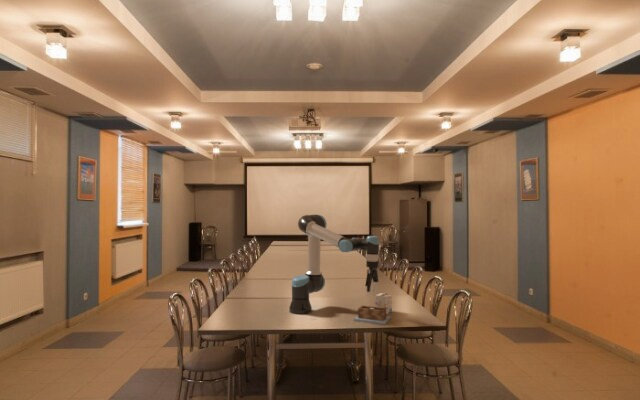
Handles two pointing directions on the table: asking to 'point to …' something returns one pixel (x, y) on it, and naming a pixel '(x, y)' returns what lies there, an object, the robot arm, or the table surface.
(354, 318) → the post board
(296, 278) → the robot arm
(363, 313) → the hollow block
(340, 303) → the table surface
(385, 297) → the ink box
